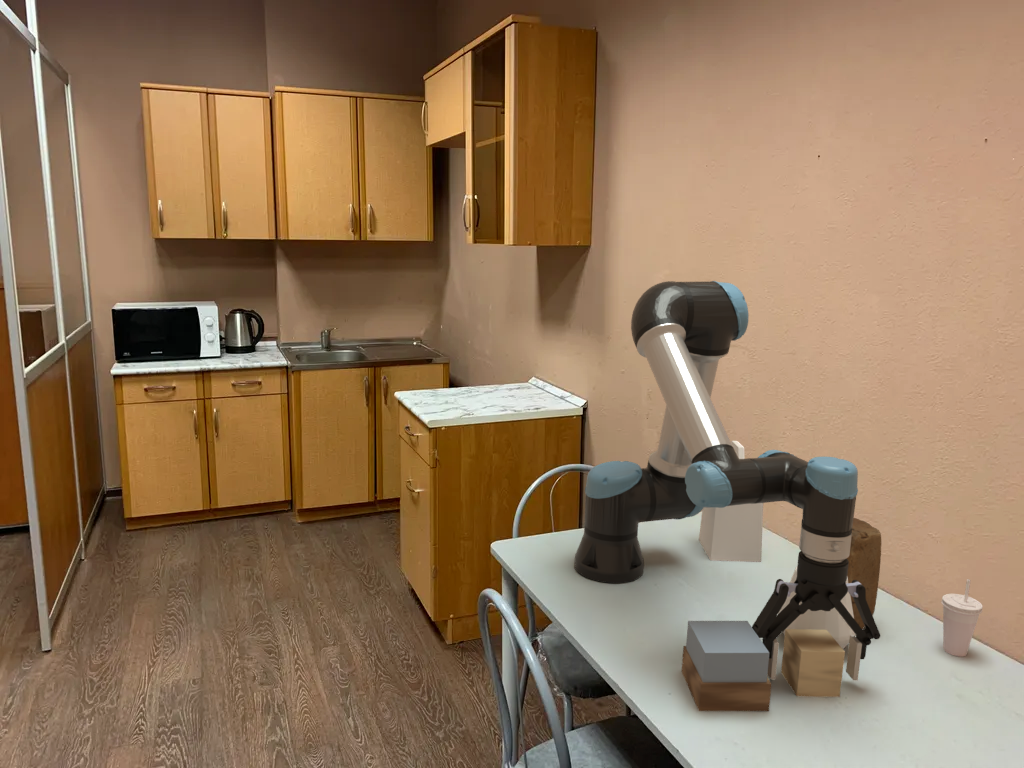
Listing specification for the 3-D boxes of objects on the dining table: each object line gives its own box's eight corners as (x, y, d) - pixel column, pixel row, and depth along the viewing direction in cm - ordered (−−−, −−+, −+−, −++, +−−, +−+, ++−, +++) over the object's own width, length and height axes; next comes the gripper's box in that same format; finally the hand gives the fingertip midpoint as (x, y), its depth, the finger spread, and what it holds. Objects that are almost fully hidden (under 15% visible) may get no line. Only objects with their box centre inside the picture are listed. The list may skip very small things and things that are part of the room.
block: (876, 631, 146) (889, 531, 142) (842, 636, 144) (854, 534, 140) (838, 605, 156) (849, 511, 153) (806, 608, 154) (816, 513, 151)
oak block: (780, 672, 132) (785, 629, 130) (821, 672, 132) (826, 629, 130) (796, 696, 125) (801, 651, 123) (839, 697, 125) (844, 651, 123)
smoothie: (960, 663, 136) (972, 589, 133) (927, 646, 141) (937, 574, 139) (983, 655, 139) (994, 582, 136) (949, 638, 144) (959, 568, 141)
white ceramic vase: (846, 672, 132) (855, 596, 129) (766, 648, 139) (773, 576, 136) (859, 638, 143) (867, 568, 141) (784, 618, 150) (791, 551, 148)
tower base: (681, 673, 131) (683, 646, 130) (745, 673, 132) (748, 646, 131) (698, 712, 120) (701, 683, 119) (768, 713, 121) (771, 684, 120)
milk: (761, 562, 176) (771, 452, 171) (710, 560, 177) (719, 450, 172) (746, 541, 188) (755, 437, 183) (698, 540, 188) (706, 436, 183)
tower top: (686, 648, 130) (688, 620, 129) (744, 648, 130) (747, 620, 129) (702, 682, 120) (705, 652, 119) (766, 682, 120) (769, 652, 119)
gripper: (754, 563, 120) (743, 687, 124) (913, 565, 121) (897, 689, 125) (739, 544, 127) (729, 662, 131) (888, 546, 128) (874, 663, 132)
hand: (811, 675), depth 128 cm, fingers open, 13 cm apart
